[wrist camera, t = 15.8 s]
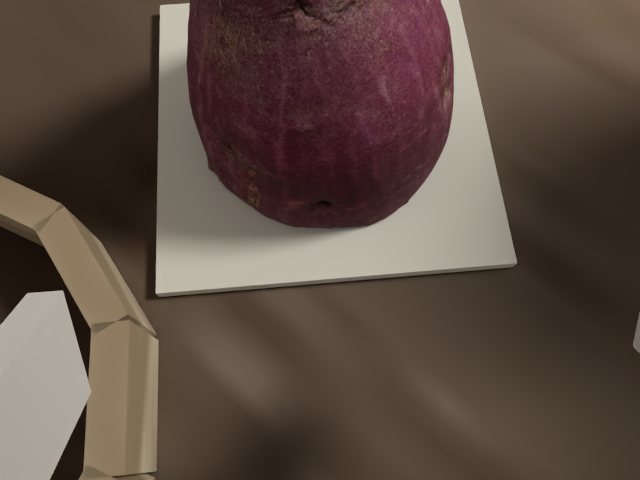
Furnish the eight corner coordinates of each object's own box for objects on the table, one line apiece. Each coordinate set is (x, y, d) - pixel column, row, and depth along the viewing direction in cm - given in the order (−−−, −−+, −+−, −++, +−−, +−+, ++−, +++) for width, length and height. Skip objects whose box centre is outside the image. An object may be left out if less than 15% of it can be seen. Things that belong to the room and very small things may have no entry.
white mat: (452, -7, 27) (455, -15, 27) (513, 267, 22) (517, 263, 22) (162, 12, 27) (160, 5, 26) (159, 297, 22) (155, 293, 21)
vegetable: (258, 274, 25) (15, 198, 10) (199, 72, 27) (-70, -224, 13) (489, 194, 24) (577, -25, 9) (407, -13, 26) (372, -458, 11)
